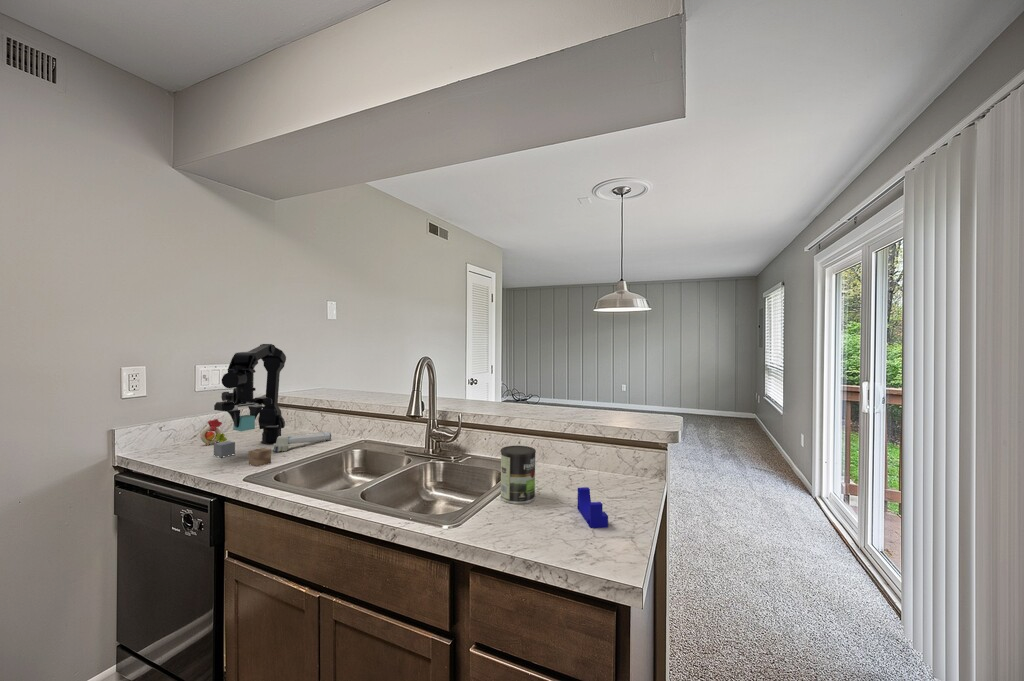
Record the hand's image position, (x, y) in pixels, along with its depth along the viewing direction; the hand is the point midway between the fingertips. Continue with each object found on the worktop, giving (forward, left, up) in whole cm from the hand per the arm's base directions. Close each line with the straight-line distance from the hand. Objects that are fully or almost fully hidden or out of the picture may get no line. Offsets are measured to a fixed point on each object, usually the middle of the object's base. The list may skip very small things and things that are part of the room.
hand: (244, 426), depth 160 cm
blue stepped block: (-10, +133, -12) cm, 134 cm away
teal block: (0, 0, -1) cm, 1 cm away
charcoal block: (+2, -9, -12) cm, 15 cm away
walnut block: (+2, +13, -12) cm, 18 cm away
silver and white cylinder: (-23, +4, -12) cm, 26 cm away
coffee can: (-13, +110, -12) cm, 111 cm away
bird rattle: (-6, -31, -12) cm, 34 cm away
